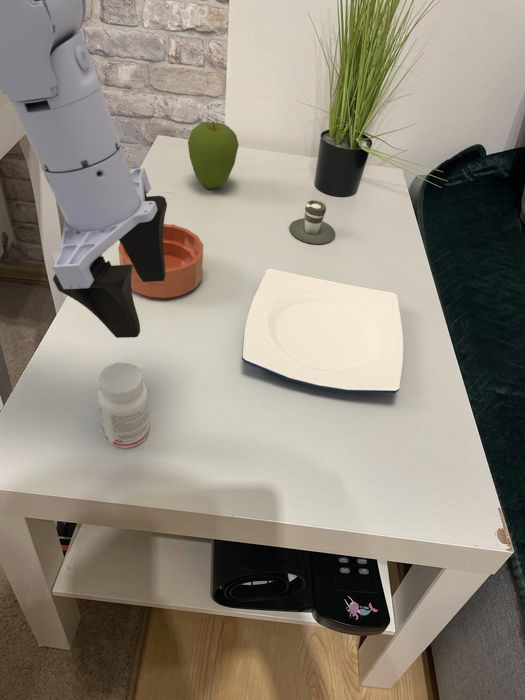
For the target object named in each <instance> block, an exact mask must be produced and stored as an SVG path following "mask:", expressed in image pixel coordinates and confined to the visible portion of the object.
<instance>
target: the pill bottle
mask: <svg viewBox="0 0 525 700" xmlns="http://www.w3.org/2000/svg"><path fill="white" fill-rule="evenodd" d="M98 380H99V390H98V392H97V403H98V407H99V408H98V409H99V413H100V414H99V415H100V420H101V425H102V430H103V436H104V438H105V439H106V441H107V442H108V443H109V444H111V445H112V446H114V447H116V448H121V449H127V448H129V449H130V448H132V447H136V446H138V445H139V444H141V443H143V441H145V440H146V439H147V437H148V435H149V433H150V429H151V424H150V411H149V393H148V388H147V386H146V384H145V382H144V377H143V373H142V371H141V368H139V367H138V366H136V365H135V364H133V363H130V362H116V363H112V364H109V365H108V366H107V367H105V368H104V369H103V370H102V371H101V373H100V374H99V379H98Z"/></svg>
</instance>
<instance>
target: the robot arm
mask: <svg viewBox="0 0 525 700" xmlns="http://www.w3.org/2000/svg"><path fill="white" fill-rule="evenodd" d="M86 14H87V0H0V92H1V94H2V95H7V97H8V99H9V101H10V103H11V105H12V107H13V110H14V112H15V114H16V116H17V118H18V121H19V123H20V124H21V127H22V129H23V131H24V134H25V135H26V137H27V140H28V142H29V144H30V147H31V149H32V150H33V151H32V152H34V155H35V157H36V159H37V161H38V163H39V166H40V168H41V171H42V172H43V175H44V177H45V179H46V181H47V183H48V185H49V187H50V190H51V191H52V194H53V196H54V199H55V200H56V202H57V205H58V207H59V209H60V211H61V213H62V216H63V218H64V223H63V229H62V234H61V235H62V236H61V241H60V246H59V252H58V256H57V258H56V260H55V262H53V265H52V269H53V271H54V276H53V277H52V281H53V282H54V285H55V287H56V288H57V291H59V292H60V293H62V294H63V295H66V296H68V297H69V298H71V299H73V300H75V301H76V302H78V303H79V304H81V305H82V307H83V306H84V307H85V308H86V309H87V310H88V311H90V313H92V314H93V315H94V316H95V317H96V318H97V319H99V321H100V322H101V323H102V324H103V325H104V326H105V327H106V328H107V329H108V331H109V332H110V333H111V334H112V335H113V336H114V337H115V338H117V339H119V338H120V339H122V338H123V339H124V338H128V339H129V338H138V337H139V335H140V333H141V322H140V319H139V316H138V312H137V309H136V306H135V302H134V301H135V300H134V295H133V290H132V288H131V275H132V267H133V266H134V268H135V270H136V272H137V274H138V275H139V277H140V278H141V280H142V281H143V282H155V281H164V279H165V259H164V247H163V227H164V224H165V218H166V212H167V208H168V203H167V200H166V197H165V196H163V195H150V196H148V193H149V192H150V191H151V190H152V187H151V183H150V181H149V177H148V174H147V171H146V169H145V168H144V167H141V168H140V167H139V168H130V167H129V164H128V162H127V159H126V155H125V153H124V150H123V147H122V144H121V141H120V137H119V135H118V131H117V129H116V127H115V123H114V121H113V117H112V115H111V112H110V109H109V106H108V102H107V100H106V97H105V94H104V91H103V89H102V86H101V83H100V80H99V77H98V75H97V72H96V69H95V66H94V64H93V60H92V57H91V55H90V52H89V49H88V45H87V44H86V41H85V38H84V34H83V32H82V31H80V30H81V29H82V27H83V26H84V22H85V19H86ZM118 241H119V243H120V242H121V244H122V245H123V247H124V249H125V250H126V252H127V254H128V256H129V258H130V260H131V262H132V264H133V265H120V264H116V265H112V264H111V261H110V260H107V261H106V259H105V257H104V255H103V254H104V253H105V252H106V251H108V250H109V249H110V248H111V247H112V246H114V245H115V244H116V243H117V242H118Z"/></svg>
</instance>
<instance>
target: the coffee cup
mask: <svg viewBox="0 0 525 700" xmlns="http://www.w3.org/2000/svg"><path fill="white" fill-rule="evenodd" d="M304 210H305V211H304V217H303V218H302V217H301V218H297V219H296V220H294V221H292V222H291V223H290V225H289V227H288V228H289V232H290V234H291V235H292V236H293V237H294V238H295V239H296V240H299V241H300V242H303V243H306V244H308V245H309V244H310V245H324V244H327V243H330V242H332V241H333V240H334V239H335V238H336V231H335V229H334V227H333V226H331V225H330V224H329V223H328V222H325V221H323V220H324V217H325V214H326V212H327V205H326V204H325V203H324V202H322V201H321V200H315V199H312V200H308V201H307V202H306V204H305V207H304Z"/></svg>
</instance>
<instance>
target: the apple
mask: <svg viewBox="0 0 525 700" xmlns="http://www.w3.org/2000/svg"><path fill="white" fill-rule="evenodd" d="M239 145H240V144H239V141H238V137H237V134H236V133H235V131H234V130H233V129H232V128H230V126H228V125H227V124H225V123H221V122H215V121H202V122H200V123H199V124H198V125H196V126H195V127H194V128H192V130H191V132H190V135H189V137H188V140H187V146H188V155H189V160H190V163H191V166H192V169H193V172H194V175H195V178H196V180H197V181H198V182H199V184H200V185H201V186H202V187H203V188H204V189H208V190H215V189H219V188H220V187H221V186H222V185H224V184H225V183H226V182H227V181H228V180H229V177H230V175H231V173H232V170H233V168H234V165H235V163H236V158H237V154H238V149H239Z"/></svg>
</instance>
